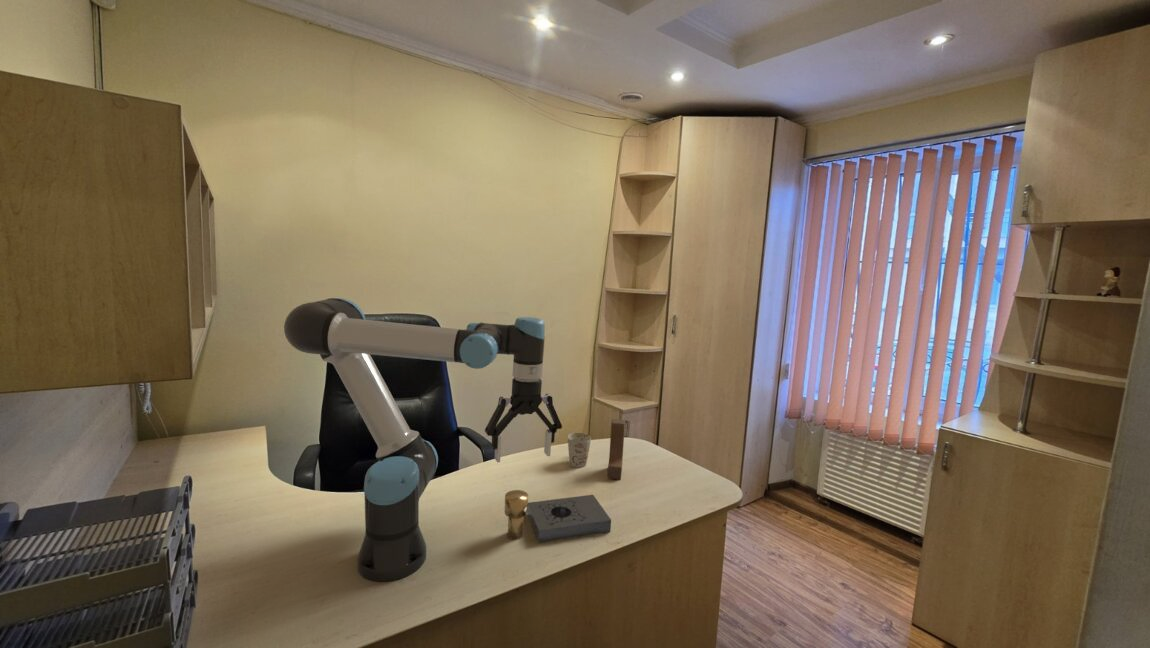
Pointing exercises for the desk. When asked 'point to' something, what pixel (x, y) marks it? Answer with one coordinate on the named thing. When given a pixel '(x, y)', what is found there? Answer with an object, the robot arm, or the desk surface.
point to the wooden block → (616, 449)
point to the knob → (516, 512)
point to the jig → (567, 518)
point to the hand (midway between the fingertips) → (522, 457)
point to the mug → (578, 449)
